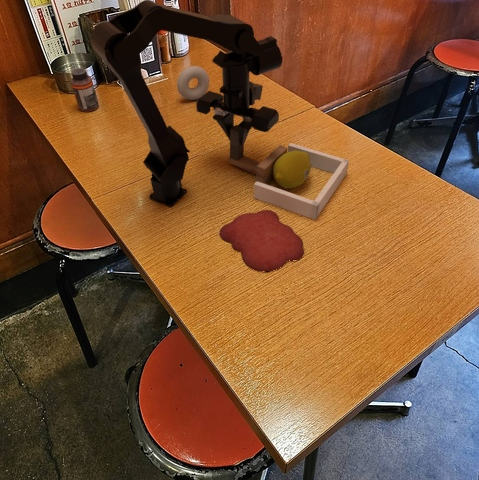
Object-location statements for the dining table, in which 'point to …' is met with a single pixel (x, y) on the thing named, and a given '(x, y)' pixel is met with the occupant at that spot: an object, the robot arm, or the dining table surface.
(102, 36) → the robot arm
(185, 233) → the dining table surface
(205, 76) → the donut
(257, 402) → the dining table surface
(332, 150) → the dining table surface
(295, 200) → the box
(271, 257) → the red spill
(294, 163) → the lemon
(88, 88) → the supplement bottle
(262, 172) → the scraper
